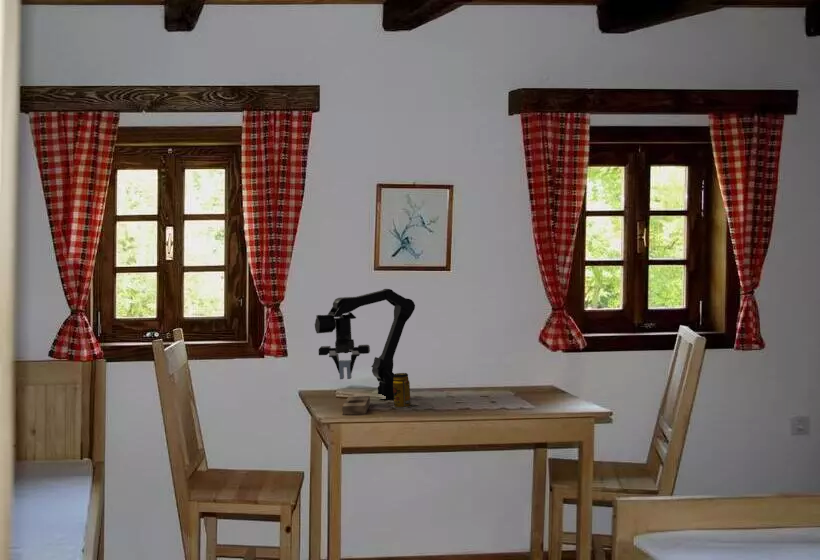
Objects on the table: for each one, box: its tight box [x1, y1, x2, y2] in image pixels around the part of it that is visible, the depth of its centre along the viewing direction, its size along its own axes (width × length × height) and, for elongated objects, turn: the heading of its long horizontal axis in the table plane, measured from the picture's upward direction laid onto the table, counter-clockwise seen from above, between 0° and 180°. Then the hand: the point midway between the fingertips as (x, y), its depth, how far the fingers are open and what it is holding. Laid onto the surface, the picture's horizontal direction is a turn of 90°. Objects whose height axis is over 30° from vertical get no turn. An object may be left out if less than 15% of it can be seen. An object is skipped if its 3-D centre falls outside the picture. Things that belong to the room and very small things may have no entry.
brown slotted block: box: [341, 395, 371, 415], centre depth 378 cm, size 8×20×3 cm, turn 177°
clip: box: [338, 359, 353, 380], centre depth 392 cm, size 4×4×7 cm
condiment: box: [390, 372, 419, 409], centre depth 380 cm, size 7×8×12 cm
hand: (345, 372), depth 392 cm, fingers closed on clip, 4 cm apart
